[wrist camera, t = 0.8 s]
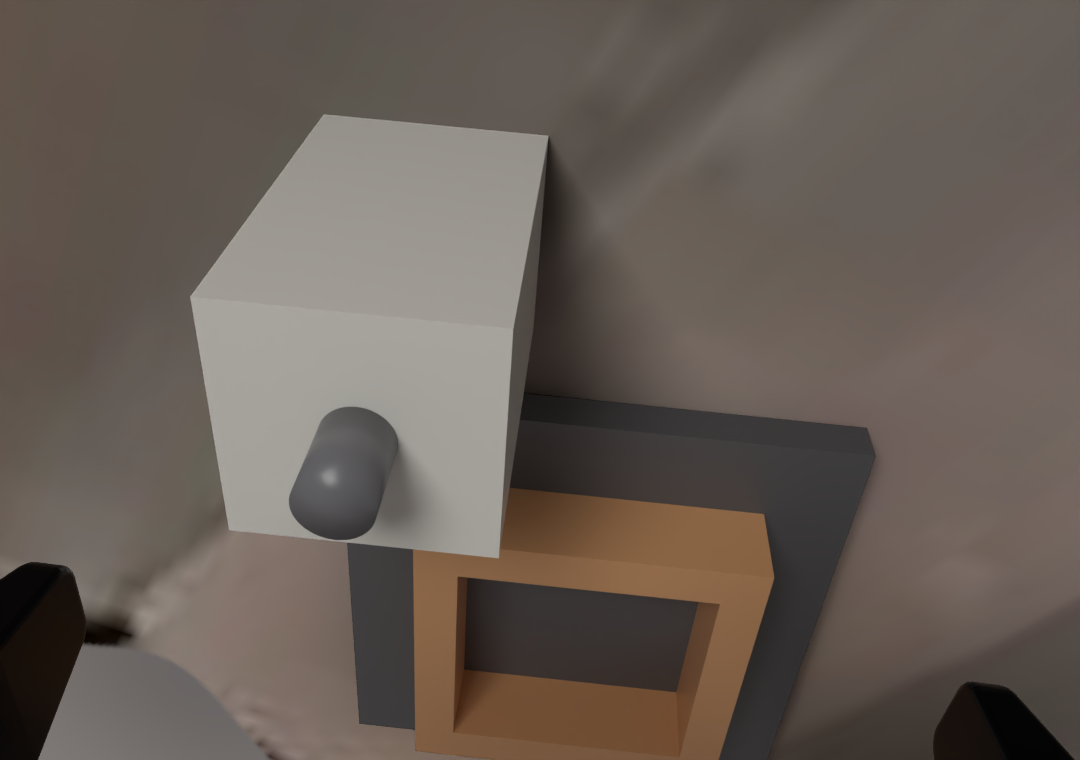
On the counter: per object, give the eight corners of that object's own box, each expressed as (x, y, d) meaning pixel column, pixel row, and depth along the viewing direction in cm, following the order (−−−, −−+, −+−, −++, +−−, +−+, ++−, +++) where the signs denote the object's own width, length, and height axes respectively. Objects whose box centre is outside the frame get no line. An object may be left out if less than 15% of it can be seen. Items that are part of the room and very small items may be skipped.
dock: (760, 737, 29) (772, 833, 27) (366, 695, 29) (343, 786, 27) (866, 428, 22) (896, 518, 20) (348, 375, 22) (313, 458, 20)
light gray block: (533, 326, 21) (487, 631, 14) (336, 306, 21) (194, 600, 14) (548, 135, 19) (500, 394, 12) (323, 113, 19) (145, 358, 12)
